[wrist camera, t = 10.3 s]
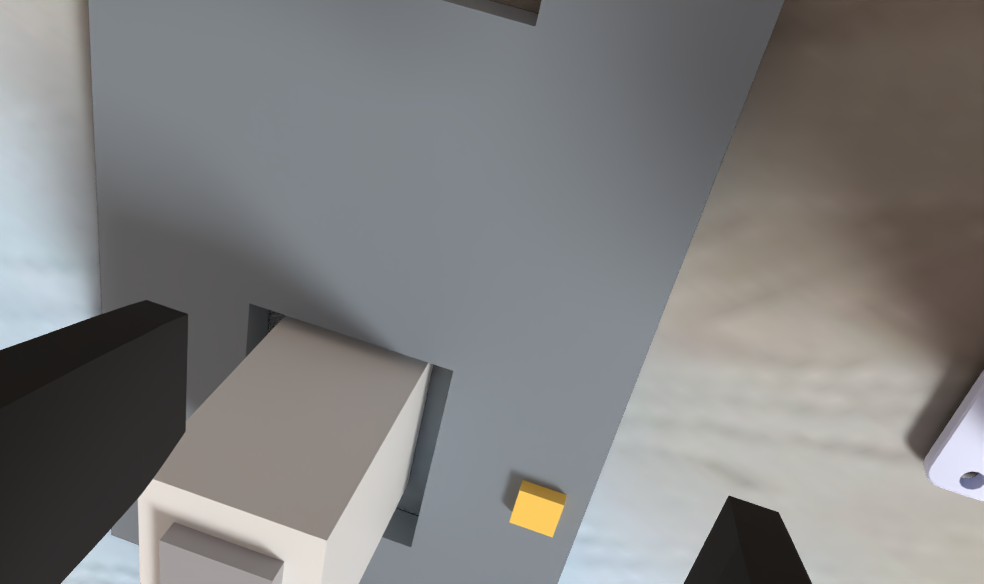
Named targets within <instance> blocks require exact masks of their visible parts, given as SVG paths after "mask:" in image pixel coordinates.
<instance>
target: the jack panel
mask: <svg viewBox="0 0 984 584" xmlns="http://www.w3.org/2000/svg"><path fill="white" fill-rule="evenodd" d="M784 1H785V0H542V1H541V5H540V9H539V14H537V13H534V12H530V11H527V10H523V9H520V8H516V7H512V6H509V5H505V4H502V3H498V2H495V1H491V0H88V7H89V30H90V53H91V76H92V99H93V122H94V145H95V168H96V190H97V213H98V236H99V259H100V282H101V305H102V314H104V313H107V312H110V311H112V310H115V309H118V308H121V307H124V306H127V305H131V304H134V303H137V302H141V301H144V300H148V301H151V302H154V303H157V304H160V305H163V306H166V307H169V308H172V309H175V310H178V311H181V312H184V313H187V314H188V349H187V392H186V421H187V420H188V419H189V418H190V416H191V415H192V414H193V413H194V412H195V411H196V410H197V409H198V408H199V407H200V406H201V405H202V404H203V403H204V402H205V400H206V399H207V398H208V397H209V396H210V395H211V394H212V393H213V392H214V391H215V390H216V389H217V388H218V387H219V386H220V385H221V383H222V382H223V381H224V380H225V379H226V378H227V377H228V376H229V375H230V374H231V373H232V372H233V371H234V370H235V369H236V367H237V366H238V365H239V364H240V363H241V362H242V361H243V360H244V359H245V358H246V357H247V356H248V355H249V354H250V353H251V352H252V350H253V349H254V348H255V347H256V346H257V345H258V344H259V343H260V342H261V341H262V340H263V339H264V338H265V337H266V336H267V331H268V319H269V310H271V311H274V312H277V313H280V314H283V315H286V316H289V317H292V318H295V319H298V320H301V321H304V322H307V323H310V324H313V325H316V326H319V327H322V328H325V329H328V330H331V331H334V332H337V333H340V334H343V335H346V336H349V337H352V338H355V339H358V340H361V341H364V342H367V343H370V344H374V345H377V346H380V347H383V348H386V349H389V350H392V351H395V352H398V353H401V354H404V355H407V356H410V357H413V358H416V359H419V360H422V361H425V362H428V363H431V364H434V365H437V366H440V367H443V368H446V369H449V370H452V371H453V374H452V378H451V383H450V387H449V391H448V395H447V399H446V404H445V408H444V412H443V416H442V420H441V424H440V429H439V433H438V437H437V441H436V445H435V450H434V454H433V458H432V462H431V466H430V471H429V475H428V479H427V483H426V487H425V492H424V496H423V500H422V504H421V508H420V513H419V516H416V515H413V514H410V513H408V512H405V511H402V510H399V509H395V511H394V513H393V515H392V517H391V519H390V521H389V523H388V525H387V527H386V529H385V531H384V533H383V536H382V538H381V540H380V542H379V544H378V546H377V548H376V550H375V552H374V554H373V556H372V558H371V560H370V562H369V564H368V566H367V568H366V570H365V572H364V574H363V576H362V578H361V580H360V582H359V584H557V583H558V581H559V578H560V576H561V573H562V571H563V568H564V566H565V563H566V560H567V558H568V555H569V553H570V550H571V548H572V545H573V542H574V540H575V537H576V535H577V532H578V530H579V527H580V524H581V522H582V519H583V517H584V514H585V512H586V509H587V506H588V504H589V501H590V499H591V496H592V494H593V491H594V489H595V486H596V483H597V481H598V478H599V476H600V473H601V471H602V468H603V465H604V463H605V460H606V458H607V455H608V453H609V450H610V447H611V445H612V442H613V440H614V437H615V435H616V432H617V430H618V427H619V424H620V422H621V419H622V417H623V414H624V412H625V409H626V406H627V404H628V401H629V399H630V396H631V394H632V391H633V388H634V386H635V383H636V381H637V378H638V376H639V373H640V370H641V368H642V365H643V363H644V360H645V358H646V355H647V353H648V350H649V347H650V345H651V342H652V340H653V337H654V335H655V332H656V329H657V327H658V324H659V322H660V319H661V317H662V314H663V311H664V309H665V306H666V304H667V301H668V299H669V296H670V293H671V291H672V288H673V286H674V283H675V281H676V278H677V276H678V273H679V270H680V268H681V265H682V263H683V260H684V258H685V255H686V252H687V250H688V247H689V245H690V242H691V240H692V237H693V234H694V232H695V229H696V227H697V224H698V222H699V219H700V217H701V214H702V211H703V209H704V206H705V204H706V201H707V199H708V196H709V193H710V191H711V188H712V186H713V183H714V181H715V178H716V175H717V173H718V170H719V168H720V165H721V163H722V160H723V157H724V155H725V152H726V150H727V147H728V145H729V142H730V140H731V137H732V134H733V132H734V129H735V127H736V124H737V122H738V119H739V116H740V114H741V111H742V109H743V106H744V104H745V101H746V98H747V96H748V93H749V91H750V88H751V86H752V83H753V80H754V78H755V75H756V73H757V70H758V68H759V65H760V63H761V60H762V57H763V55H764V52H765V50H766V47H767V45H768V42H769V39H770V37H771V34H772V32H773V29H774V27H775V24H776V21H777V19H778V16H779V14H780V11H781V9H782V6H783V4H784ZM111 535H113V536H116V537H118V538H121V539H124V540H127V541H129V542H132V543H135V544H137V545H139V525H138V499H137V500H136V501H135V502H134V504H133V505H132V506H131V507H130V508H129V509H128V510H127V511H126V513H125V514H124V515H123V516H122V517H121V518H120V519H119V520H118V521H117V522H116V524H115V525H114V526H113V527H112V528H111Z"/></svg>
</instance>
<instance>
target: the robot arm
mask: <svg viewBox="0 0 984 584" xmlns="http://www.w3.org/2000/svg"><path fill="white" fill-rule="evenodd" d="M187 349H188V314H187V313H184V312H181V311H178V310H175V309H172V308H169V307H166V306H163V305H160V304H157V303H154V302H151V301H148V300H144V301H141V302H137V303H134V304H131V305H127V306H124V307H121V308H118V309H115V310H112V311H110V312H107V313H104V314H101V315H98V316H95V317H92V318H90V319H87V320H84V321H81V322H78V323H76V324H73V325H70V326H67V327H65V328H62V329H59V330H56V331H53V332H51V333H48V334H45V335H42V336H39V337H37V338H34V339H31V340H28V341H25V342H22V343H20V344H17V345H14V346H11V347H8V348H5V349H3V350H0V584H61V582H62V581H63V580H64V579H65V578H66V577H67V576H68V575H69V574H70V573H71V572H72V571H73V569H74V568H75V567H76V566H77V565H78V564H79V563H80V562H81V561H82V560H83V559H84V558H85V556H86V555H87V554H88V553H89V552H90V551H91V550H92V549H93V548H94V547H95V546H96V545H97V543H98V542H99V541H100V540H101V539H102V538H103V537H104V536H105V535H106V533H107V532H108V531H109V530H110V529H111V528H112V527H113V526H114V525H115V524H116V522H117V521H118V520H119V519H120V518H121V517H122V516H123V515H124V514H125V513H126V511H127V510H128V509H129V508H130V507H131V506H132V505H133V504H134V502H135V501H136V500H137V499H138V498H139V497H140V496H141V494H142V493H143V492H144V490H145V489H146V488H147V486H148V485H149V484H150V482H151V481H152V479H153V478H154V477H155V475H156V474H157V473H158V471H159V470H160V468H161V467H162V466H163V464H164V463H165V461H166V460H167V458H168V457H169V455H170V454H171V452H172V451H173V449H174V448H175V447H176V445H177V444H178V442H179V441H180V439H181V438H182V436H183V435H184V433H185V432H186V392H187ZM923 465H924V470H925V473H926V476H927V478H928V480H929V481H930V482H931V483H932V484H934V485H935V486H937V487H939V488H942V489H945V490H949V491H952V492H955V493H958V494H961V495H964V496H967V497H970V498H973V499H976V500H979V501H982V502H984V370H983V371H982V373H981V374H980V376H979V377H978V379H977V380H976V382H975V383H974V385H973V386H972V388H971V389H970V391H969V392H968V394H967V395H966V397H965V398H964V400H963V401H962V403H961V404H960V406H959V407H958V409H957V410H956V412H955V413H954V415H953V416H952V418H951V419H950V421H949V422H948V424H947V425H946V427H945V428H944V430H943V431H942V433H941V434H940V436H939V437H938V439H937V440H936V442H935V443H934V445H933V446H932V448H931V449H930V451H929V452H928V454H927V455H926V457H925V460H924V462H923ZM971 471H972V472H979V474H978V475H976V476H975V477H972V478H962V477H961V476H962V475H963V474H965V473H968V472H971ZM684 584H812V582H811V580H810V578H809V576H808V574H807V572H806V570H805V567H804V565H803V563H802V561H801V559H800V557H799V554H798V552H797V550H796V548H795V546H794V544H793V542H792V539H791V537H790V535H789V533H788V531H787V529H786V527H785V525H784V523H783V521H782V518H781V516H780V514H779V512H776V511H773V510H770V509H767V508H764V507H761V506H758V505H755V504H752V503H749V502H746V501H743V500H740V499H737V498H734V497H731V496H728V498H727V500H726V502H725V504H724V506H723V508H722V510H721V512H720V514H719V516H718V518H717V520H716V522H715V524H714V526H713V528H712V529H711V531H710V533H709V535H708V537H707V539H706V541H705V543H704V545H703V547H702V549H701V551H700V553H699V555H698V557H697V559H696V561H695V563H694V565H693V567H692V568H691V570H690V572H689V574H688V576H687V578H686V580H685V582H684Z"/></svg>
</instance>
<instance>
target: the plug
mask: <svg viewBox="0 0 984 584" xmlns="http://www.w3.org/2000/svg"><path fill="white" fill-rule="evenodd" d="M432 368H433V364H431V363H428V362H425V361H422V360H419V359H416V358H413V357H410V356H407V355H404V354H401V353H398V352H395V351H392V350H389V349H386V348H383V347H380V346H377V345H374V344H370V343H367V342H364V341H361V340H358V339H355V338H352V337H349V336H346V335H343V334H340V333H337V332H334V331H331V330H328V329H325V328H322V327H319V326H316V325H313V324H310V323H307V322H304V321H301V320H298V319H295V318H292V317H289V316H286V315H285V316H284V317H283V319H282V320H281V321H280V322H279V323H278V324H277V325H276V326H275V327H274V328H273V329H272V330H271V331H270V332H269V333H268V334H267V336H266V337H265V338H264V339H263V340H262V341H261V342H260V343H259V344H258V345H257V346H256V347H255V348H254V349H253V350H252V352H251V353H250V354H249V355H248V356H247V357H246V358H245V359H244V360H243V361H242V362H241V363H240V364H239V365H238V366H237V367H236V369H235V370H234V371H233V372H232V373H231V374H230V375H229V376H228V377H227V378H226V379H225V380H224V381H223V382H222V383H221V385H220V386H219V387H218V388H217V389H216V390H215V391H214V392H213V393H212V394H211V395H210V396H209V397H208V398H207V399H206V400H205V402H204V403H203V404H202V405H201V406H200V407H199V408H198V409H197V410H196V411H195V412H194V413H193V414H192V415H191V416H190V418H189V419H188V420H187V421H186V432H185V433H184V435H183V436H182V438H181V439H180V441H179V442H178V444H177V445H176V447H175V448H174V449H173V451H172V452H171V454H170V455H169V457H168V458H167V460H166V461H165V463H164V464H163V466H162V467H161V468H160V470H159V471H158V473H157V474H156V475H155V477H154V478H153V479H152V481H151V482H150V484H149V485H148V486H147V488H146V489H145V490H144V492H143V493H142V494H141V496H140V497H139V498H138V525H139V559H140V584H359V582H360V580H361V578H362V576H363V574H364V572H365V570H366V568H367V566H368V564H369V562H370V560H371V558H372V556H373V554H374V552H375V550H376V548H377V546H378V544H379V542H380V540H381V538H382V536H383V533H384V531H385V529H386V527H387V525H388V523H389V521H390V519H391V517H392V515H393V513H394V511H395V509H396V507H397V505H398V503H399V501H400V499H401V497H402V495H403V493H404V491H405V489H406V487H407V485H408V481H409V477H410V472H411V467H412V463H413V458H414V453H415V448H416V444H417V439H418V434H419V430H420V425H421V420H422V415H423V411H424V406H425V401H426V396H427V392H428V387H429V382H430V378H431V373H432Z"/></svg>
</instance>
